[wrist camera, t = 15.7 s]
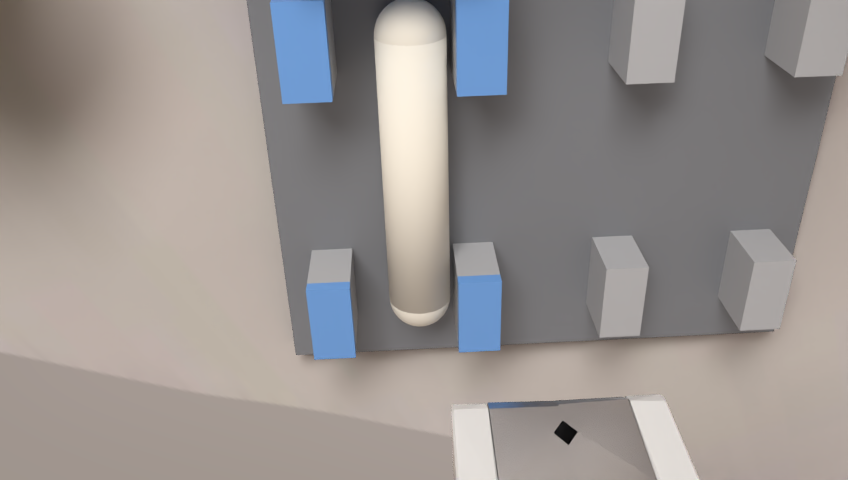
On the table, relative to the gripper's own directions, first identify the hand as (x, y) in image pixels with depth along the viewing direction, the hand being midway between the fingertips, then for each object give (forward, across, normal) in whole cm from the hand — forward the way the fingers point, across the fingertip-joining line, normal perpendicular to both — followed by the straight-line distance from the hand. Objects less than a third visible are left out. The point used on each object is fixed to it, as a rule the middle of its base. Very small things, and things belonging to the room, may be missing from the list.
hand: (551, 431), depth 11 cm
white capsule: (+24, +2, +8) cm, 25 cm away
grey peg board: (+27, -4, +8) cm, 28 cm away
